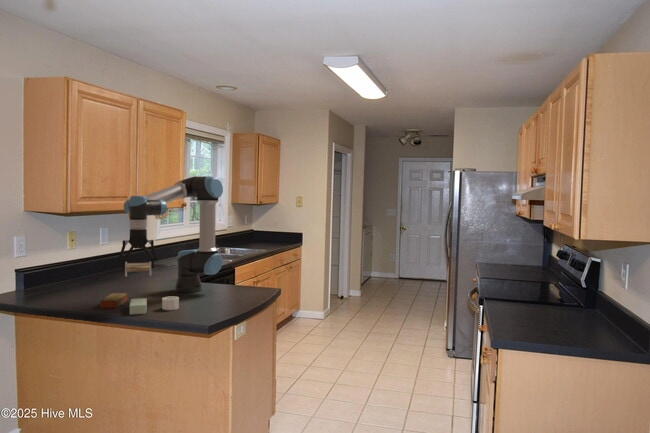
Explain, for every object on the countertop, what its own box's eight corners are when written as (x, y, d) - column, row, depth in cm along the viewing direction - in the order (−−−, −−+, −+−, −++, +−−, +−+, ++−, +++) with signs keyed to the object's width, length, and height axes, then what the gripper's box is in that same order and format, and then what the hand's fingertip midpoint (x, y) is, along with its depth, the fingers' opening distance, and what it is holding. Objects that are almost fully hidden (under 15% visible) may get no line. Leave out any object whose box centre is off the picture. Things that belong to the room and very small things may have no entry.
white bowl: (162, 307, 241) (162, 296, 241) (178, 306, 243) (178, 296, 243) (162, 310, 234) (162, 300, 233) (179, 309, 236) (179, 299, 236)
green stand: (131, 307, 240) (131, 298, 240) (146, 306, 242) (146, 298, 242) (129, 314, 226) (129, 305, 225) (145, 313, 228) (145, 305, 228)
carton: (127, 301, 254) (127, 293, 254) (117, 308, 238) (117, 299, 238) (110, 301, 253) (110, 293, 253) (99, 308, 237) (99, 299, 237)
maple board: (127, 266, 238) (127, 263, 238) (149, 266, 241) (149, 262, 241) (125, 271, 224) (125, 267, 224) (149, 270, 227) (149, 267, 227)
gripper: (111, 229, 225) (111, 278, 226) (163, 229, 232) (163, 276, 233) (112, 228, 232) (113, 275, 233) (163, 227, 239) (163, 273, 240)
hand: (138, 275), depth 233 cm, fingers closed on maple board, 10 cm apart
